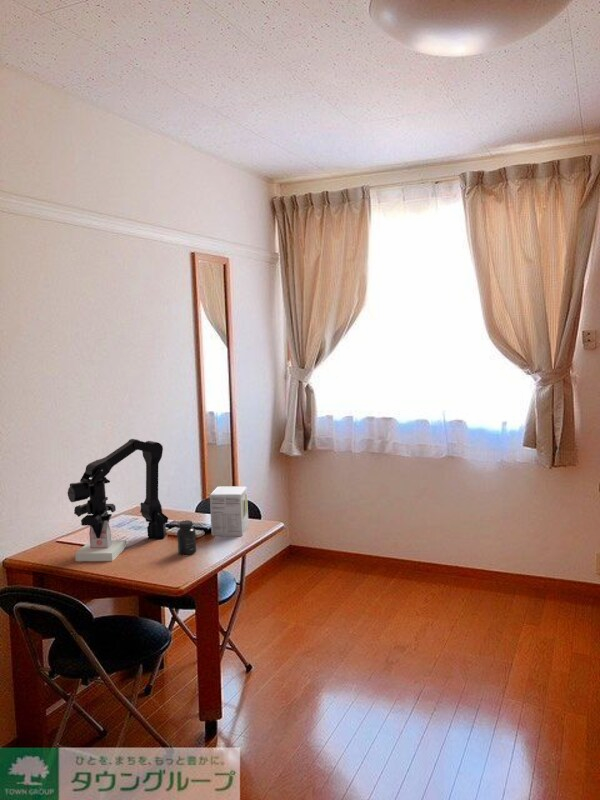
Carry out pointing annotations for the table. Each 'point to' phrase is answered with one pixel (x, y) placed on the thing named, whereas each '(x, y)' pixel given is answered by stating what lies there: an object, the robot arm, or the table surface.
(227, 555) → the table surface
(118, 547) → the plinth
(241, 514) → the supplement box
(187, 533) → the supplement bottle
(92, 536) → the white paper carton
